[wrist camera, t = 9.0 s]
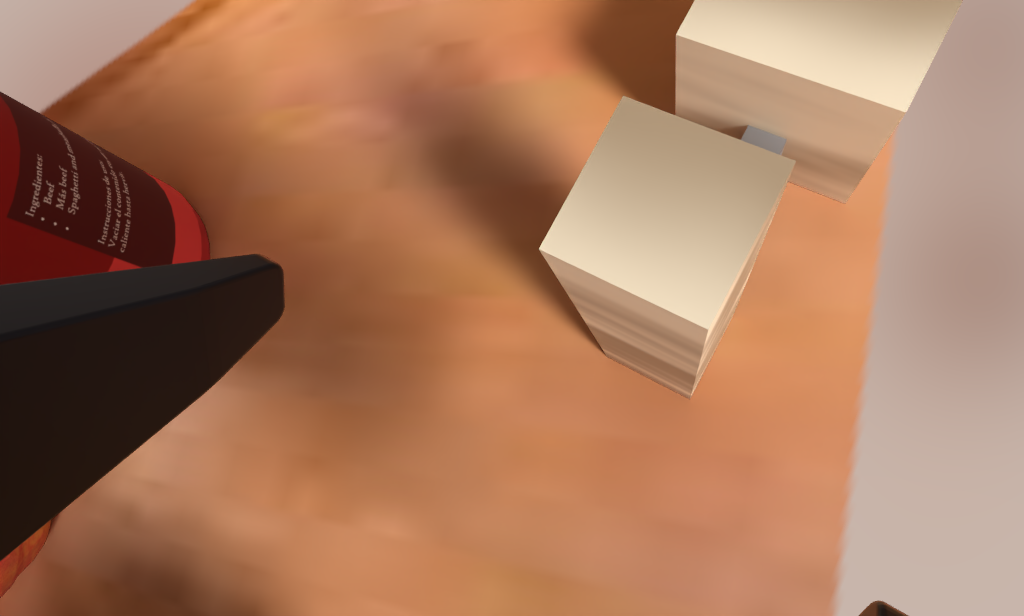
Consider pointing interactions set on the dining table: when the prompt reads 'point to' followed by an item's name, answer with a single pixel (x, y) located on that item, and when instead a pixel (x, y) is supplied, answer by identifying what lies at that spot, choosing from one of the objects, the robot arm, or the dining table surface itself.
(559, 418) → the dining table surface
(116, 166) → the canned food
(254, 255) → the robot arm
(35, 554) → the fruit
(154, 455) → the dining table surface
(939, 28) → the tethered block
